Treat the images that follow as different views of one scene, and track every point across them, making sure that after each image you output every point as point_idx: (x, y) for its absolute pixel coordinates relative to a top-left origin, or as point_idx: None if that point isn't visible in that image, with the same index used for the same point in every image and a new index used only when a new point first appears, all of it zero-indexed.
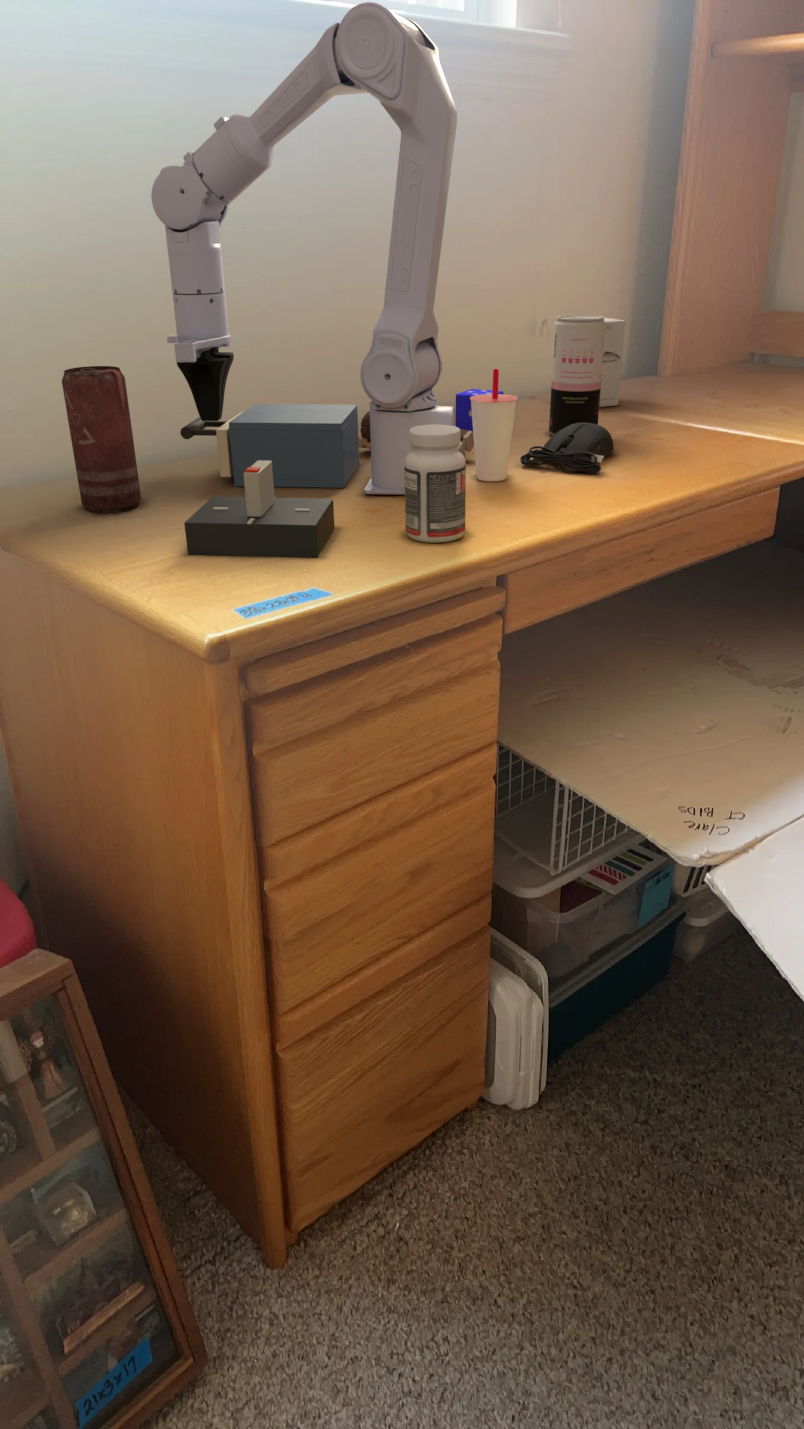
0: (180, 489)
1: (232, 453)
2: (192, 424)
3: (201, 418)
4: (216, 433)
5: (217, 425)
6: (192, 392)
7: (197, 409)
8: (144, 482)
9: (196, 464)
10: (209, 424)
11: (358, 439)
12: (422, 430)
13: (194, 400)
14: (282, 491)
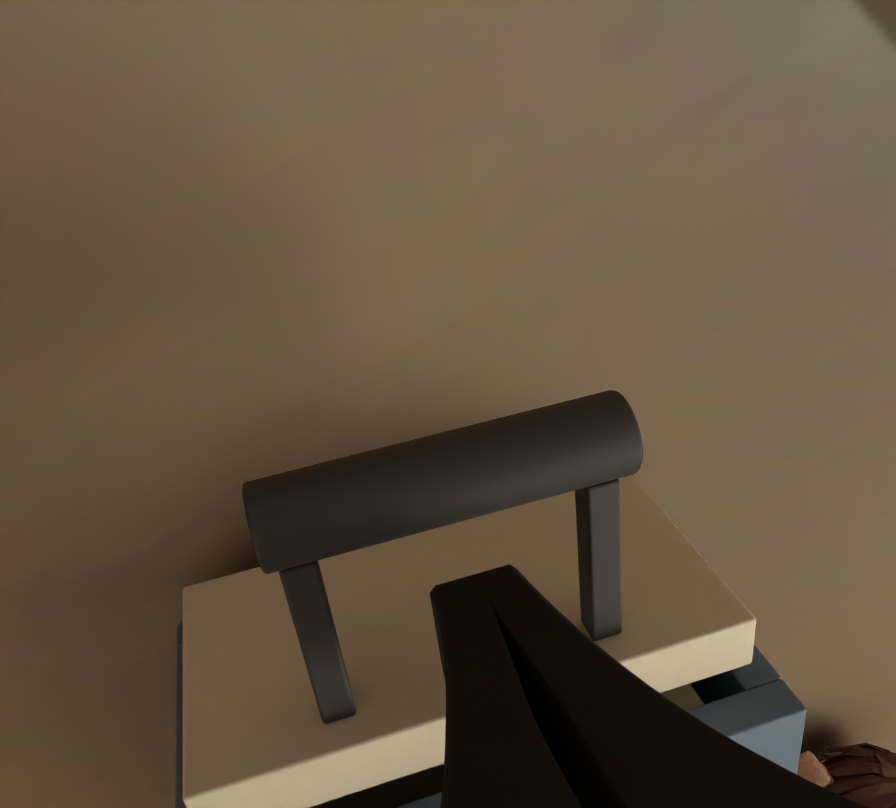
0: (11, 427)
1: (176, 757)
2: (379, 537)
3: (432, 602)
4: (183, 778)
5: (580, 543)
6: (445, 754)
7: (442, 635)
8: (71, 125)
9: (585, 214)
10: (578, 504)
11: (813, 777)
12: None
13: (449, 686)
14: (174, 800)
